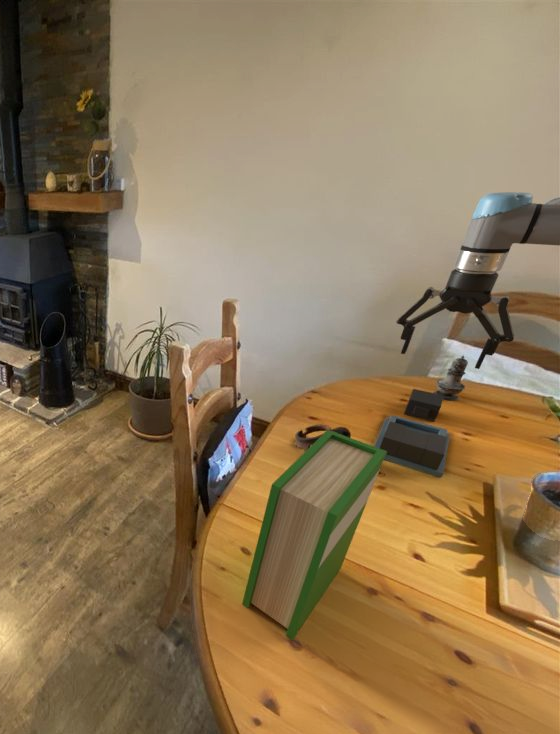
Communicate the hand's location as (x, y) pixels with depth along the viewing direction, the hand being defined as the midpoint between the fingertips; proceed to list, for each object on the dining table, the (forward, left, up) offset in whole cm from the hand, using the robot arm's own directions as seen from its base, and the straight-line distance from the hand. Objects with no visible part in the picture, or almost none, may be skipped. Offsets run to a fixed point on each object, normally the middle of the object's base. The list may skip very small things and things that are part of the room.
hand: (438, 359), depth 100 cm
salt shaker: (-5, -14, -15) cm, 21 cm away
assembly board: (-1, +19, -15) cm, 24 cm away
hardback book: (+8, +74, -15) cm, 76 cm away
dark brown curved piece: (+13, +34, -15) cm, 40 cm away
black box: (-1, 0, -15) cm, 15 cm away
